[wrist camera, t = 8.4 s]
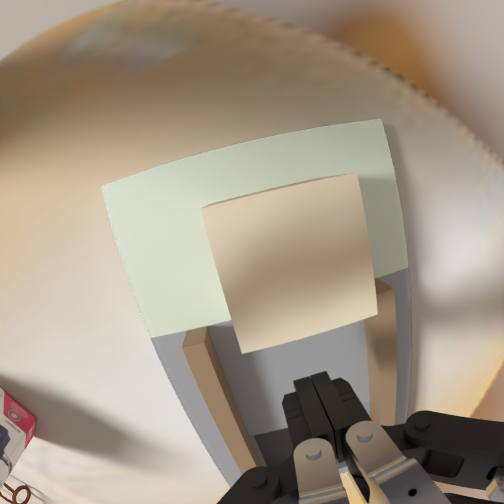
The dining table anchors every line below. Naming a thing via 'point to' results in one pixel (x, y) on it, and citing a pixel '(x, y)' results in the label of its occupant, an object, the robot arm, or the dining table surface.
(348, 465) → the robot arm
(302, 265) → the beech block
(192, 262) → the channel deck
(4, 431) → the ink box
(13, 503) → the glasses
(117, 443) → the dining table surface
